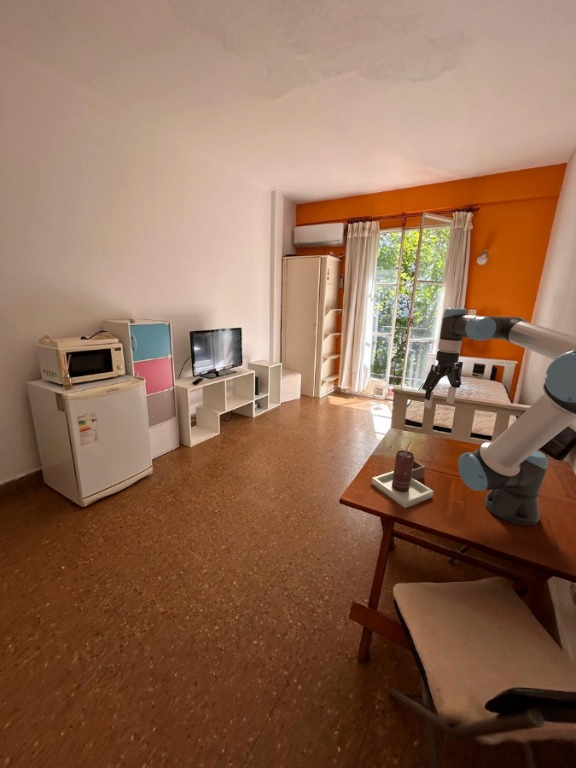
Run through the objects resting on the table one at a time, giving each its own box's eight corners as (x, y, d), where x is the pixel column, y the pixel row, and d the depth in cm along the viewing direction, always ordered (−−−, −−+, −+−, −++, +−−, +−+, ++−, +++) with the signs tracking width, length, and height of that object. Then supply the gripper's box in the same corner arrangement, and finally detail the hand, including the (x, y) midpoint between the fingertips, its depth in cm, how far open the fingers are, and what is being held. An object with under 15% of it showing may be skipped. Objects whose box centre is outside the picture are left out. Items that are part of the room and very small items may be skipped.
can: (406, 483, 120) (411, 450, 116) (410, 493, 114) (416, 458, 110) (390, 481, 121) (394, 448, 117) (393, 491, 115) (398, 457, 111)
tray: (432, 497, 113) (433, 491, 113) (405, 508, 107) (406, 501, 106) (397, 475, 127) (398, 469, 126) (371, 483, 120) (372, 477, 119)
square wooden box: (423, 477, 125) (425, 466, 124) (409, 482, 122) (411, 471, 120) (407, 468, 132) (409, 457, 131) (393, 472, 128) (395, 461, 127)
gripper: (459, 347, 126) (450, 398, 132) (417, 351, 114) (409, 406, 120) (478, 351, 120) (467, 403, 126) (435, 354, 108) (425, 412, 114)
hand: (438, 405), depth 123 cm, fingers open, 13 cm apart
